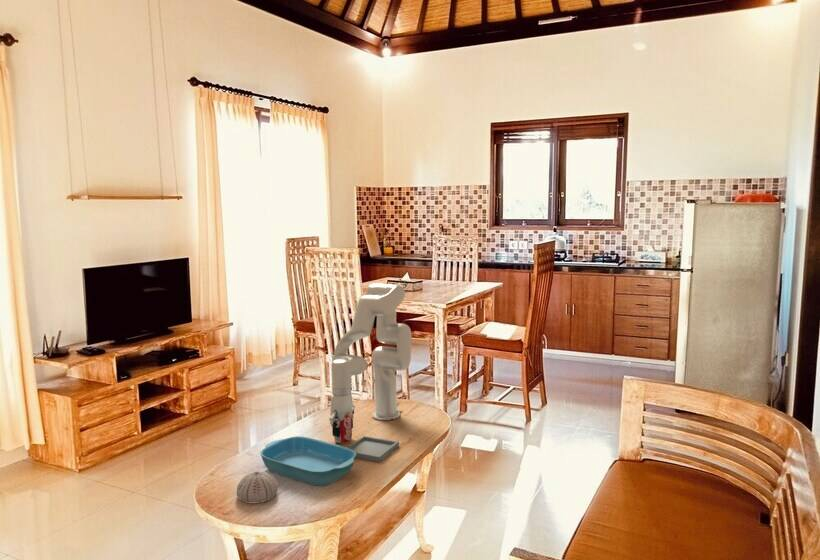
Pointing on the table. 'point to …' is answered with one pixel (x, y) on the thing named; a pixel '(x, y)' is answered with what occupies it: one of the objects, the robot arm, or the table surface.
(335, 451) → the casserole dish
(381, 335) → the robot arm
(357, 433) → the table surface
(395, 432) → the table surface
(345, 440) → the soda can
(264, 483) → the sea urchin shell
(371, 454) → the tray
